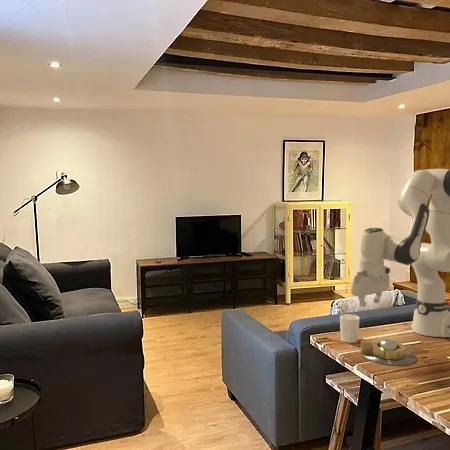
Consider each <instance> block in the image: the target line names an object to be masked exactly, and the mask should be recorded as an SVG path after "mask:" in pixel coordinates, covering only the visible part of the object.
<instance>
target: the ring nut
mask: <svg viewBox="0 0 450 450" xmlns="http://www.w3.org/2000/svg"><path fill="white" fill-rule="evenodd" d="M380 340H381V339H380ZM380 340H379V339H378V340H375V341H373V342H372V340H360V354H361V353H370V354H373V355H375V356H377V357H380V358H383V359H394V360H399V359H402V358H404V357H406V350H407V348H406V346H405V344H403V343H400V342H397V349H396V350H390V349H384V348H381V347H380Z"/></svg>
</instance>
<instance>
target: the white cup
mask: <svg viewBox="0 0 450 450" xmlns="http://www.w3.org/2000/svg"><path fill="white" fill-rule="evenodd" d="M339 328H340V329H339V330H340V341H341V342H344V343H348V344H353V343H354V344H355V343H357V342H358V339H359V332H360V331H359V330H360V329H359V328H360V316H358V315H356V314H350V313H349V314H348V313H347V314H346V313H345V314H341V315H340V316H339Z"/></svg>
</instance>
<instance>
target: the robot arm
mask: <svg viewBox="0 0 450 450" xmlns="http://www.w3.org/2000/svg"><path fill="white" fill-rule="evenodd" d="M430 197H431V198H430ZM429 200H430V201H429ZM428 202H429V205H428ZM397 205H398V207H399V209H400V210H401V211H402V212H403V213H404V214H406V215H407V216H409V217H410V218H411V219H412V221H411V225H410V228H409V230H408V234H407V235H406V236H405V237H397V236H392V235H389V234H388V233H386V232H385V231H384V229H383V228H381V227H369V228H366V229H364V230H363V233H362V235H361V239H360V254H361V256H360V260H359V271H357V272H356V274H355V276H354V277H353V281H352V284H351V285H352V286H351V294H352V296H354V297H358V300H359V307H362V308H364V307H367V301H366V300H365V299H366V296H369V295H374V294H375V297H374V298H373V303H374V304H380V301H381V297H382V295H383V293H384V292H387V291H388V289H389V288H390V278H391V277H390V274H391V268H390V267H388V266H386V265H385V264H384V263H385V262H384V260H386V261H390V262H395V263H399V264H401V265H405V266H409V265H411V266H412V268H413V271H414V273H415V276H416V282H417V298H415V299H416V300H415V307H416V308H415V309H414V311H413V319H412V323H411V324H410V327H411V331H413V332H414V333H416V334H418V335H422V336H425V337H435V338H445V337H450V311H449V310H448V307H450V300H446V284H445V282H444V280H443V278H441V277H440V275H439V273H438V272H441V273H442V272H443V273H450V169H448V168H430V169H429V168H428V169H425V168H422V169H417V170H414V172H413V173H412V174H411V175H410V176H409V177H408V179H407V180H406V182H405V184H404V185H403V187H402V189H401V190H400V193H399V195H398V198H397ZM425 232H426V233H427V234H429V237H430V243H427V242H423V238H424V236H425Z"/></svg>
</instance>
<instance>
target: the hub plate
mask: <svg viewBox="0 0 450 450" xmlns="http://www.w3.org/2000/svg"><path fill="white" fill-rule="evenodd" d="M397 343H398V342H397V341H396V340H394V339H389V338H384V339H383V338H382V339H380V347H381V348H384V349H390V350H396V349H397ZM360 355H361V356H362V357H363V358H365V359H366V360H367V359H368V361H369V362H372V361H373V363H375V362H376V364H379V363H380V365H384V364H385V365H384V366H393V367H394V366H395V367H400V366H401V367H402V366H404V367H405V366H410V365H412V364H415V362H417V356H416V355H415V354H414V353H413V352H411V351H409V350H407V349H406V357H404V358H402V359H399V360H394V359H383V358H380V357H377V356H375V355H373V354H370V353H361V352H360ZM409 364H410V365H409Z"/></svg>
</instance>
